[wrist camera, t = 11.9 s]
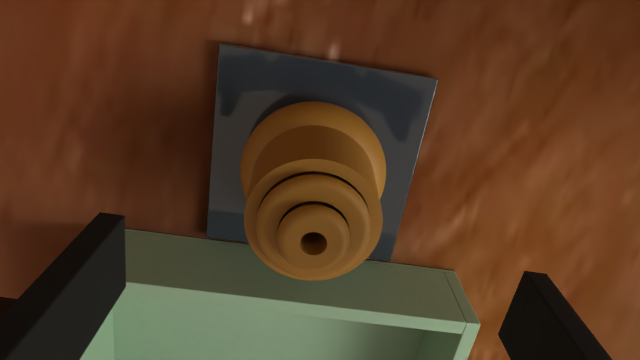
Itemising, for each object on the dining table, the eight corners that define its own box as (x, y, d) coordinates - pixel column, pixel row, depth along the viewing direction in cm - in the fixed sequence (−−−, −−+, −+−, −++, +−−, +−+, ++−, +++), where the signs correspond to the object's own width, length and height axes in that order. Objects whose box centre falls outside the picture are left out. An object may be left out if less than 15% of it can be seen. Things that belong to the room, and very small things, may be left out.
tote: (454, 270, 28) (481, 324, 24) (408, 407, 33) (423, 473, 28) (99, 224, 26) (56, 273, 22) (105, 375, 31) (71, 440, 27)
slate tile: (436, 76, 23) (439, 79, 22) (389, 255, 27) (390, 261, 27) (221, 42, 22) (218, 43, 22) (207, 232, 27) (205, 237, 26)
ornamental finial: (406, 184, 25) (292, 245, 26) (337, 68, 22) (215, 143, 24) (445, 269, 17) (285, 348, 19) (349, 110, 15) (172, 215, 16)
